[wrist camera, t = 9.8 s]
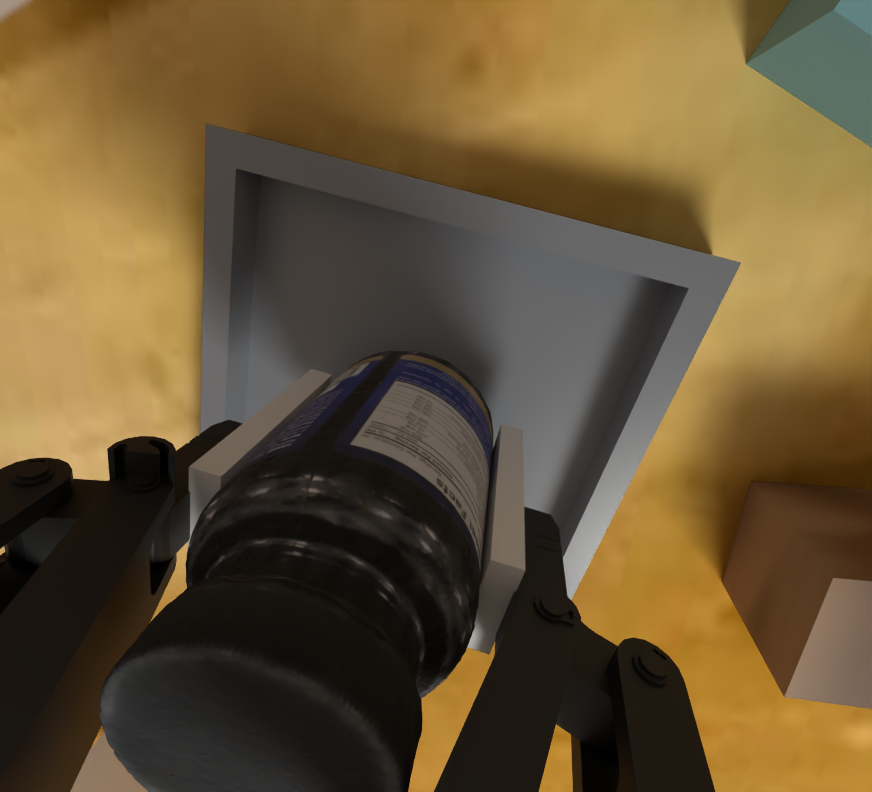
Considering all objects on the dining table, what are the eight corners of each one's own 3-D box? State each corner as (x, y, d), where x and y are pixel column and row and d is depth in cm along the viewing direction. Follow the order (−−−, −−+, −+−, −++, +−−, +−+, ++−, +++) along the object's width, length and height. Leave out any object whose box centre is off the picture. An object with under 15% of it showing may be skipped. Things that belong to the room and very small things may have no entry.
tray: (713, 255, 15) (741, 262, 13) (547, 603, 21) (550, 641, 19) (242, 133, 15) (206, 123, 14) (224, 503, 22) (198, 531, 20)
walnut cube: (901, 489, 17) (1046, 598, 12) (855, 594, 19) (965, 721, 14) (750, 479, 17) (832, 577, 13) (721, 580, 19) (784, 697, 15)
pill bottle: (349, 499, 18) (141, 858, 8) (311, 353, 16) (-34, 599, 6) (504, 494, 17) (482, 913, 7) (486, 334, 15) (413, 609, 5)
